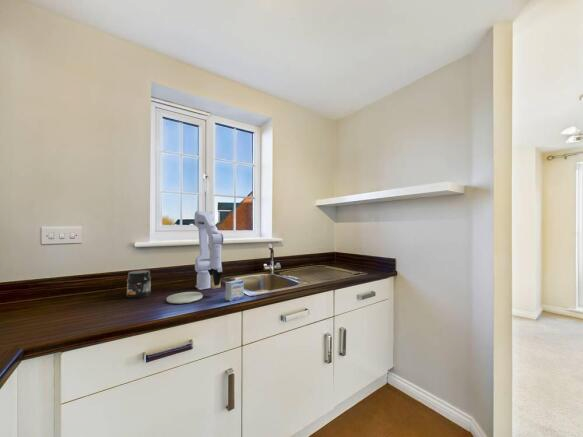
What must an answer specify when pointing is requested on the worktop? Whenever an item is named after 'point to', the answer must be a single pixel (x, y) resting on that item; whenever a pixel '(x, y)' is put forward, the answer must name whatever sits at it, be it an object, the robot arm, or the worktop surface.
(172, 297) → the sage dish
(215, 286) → the tan rectangular block
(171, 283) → the worktop surface
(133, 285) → the supplement container
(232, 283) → the medicine box
